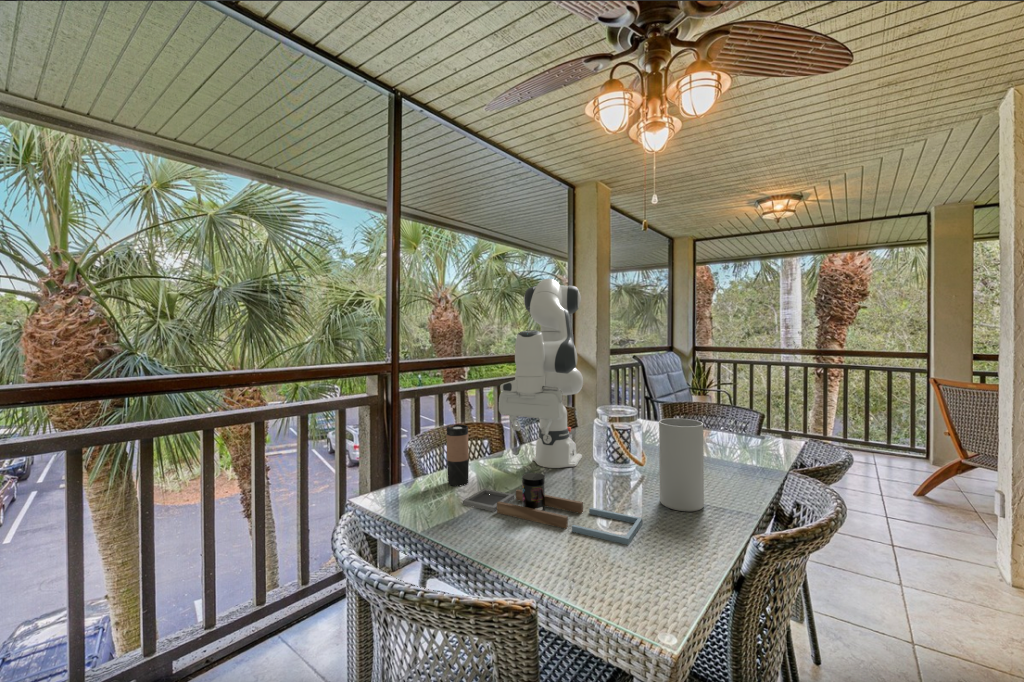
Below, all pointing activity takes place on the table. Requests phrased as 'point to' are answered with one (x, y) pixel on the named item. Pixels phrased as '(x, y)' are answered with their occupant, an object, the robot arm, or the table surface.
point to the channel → (539, 514)
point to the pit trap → (487, 499)
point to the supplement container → (533, 491)
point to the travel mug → (457, 455)
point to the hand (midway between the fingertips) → (530, 432)
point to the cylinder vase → (681, 464)
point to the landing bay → (611, 536)
